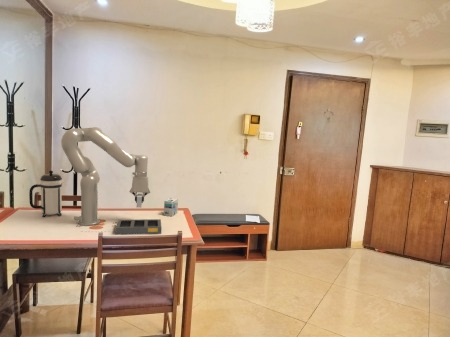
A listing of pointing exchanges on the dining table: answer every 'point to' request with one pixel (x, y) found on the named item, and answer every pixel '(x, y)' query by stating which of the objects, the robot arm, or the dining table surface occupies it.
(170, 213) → the light bulb box
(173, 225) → the dining table surface
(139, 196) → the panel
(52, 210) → the coffee press
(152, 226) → the rack
